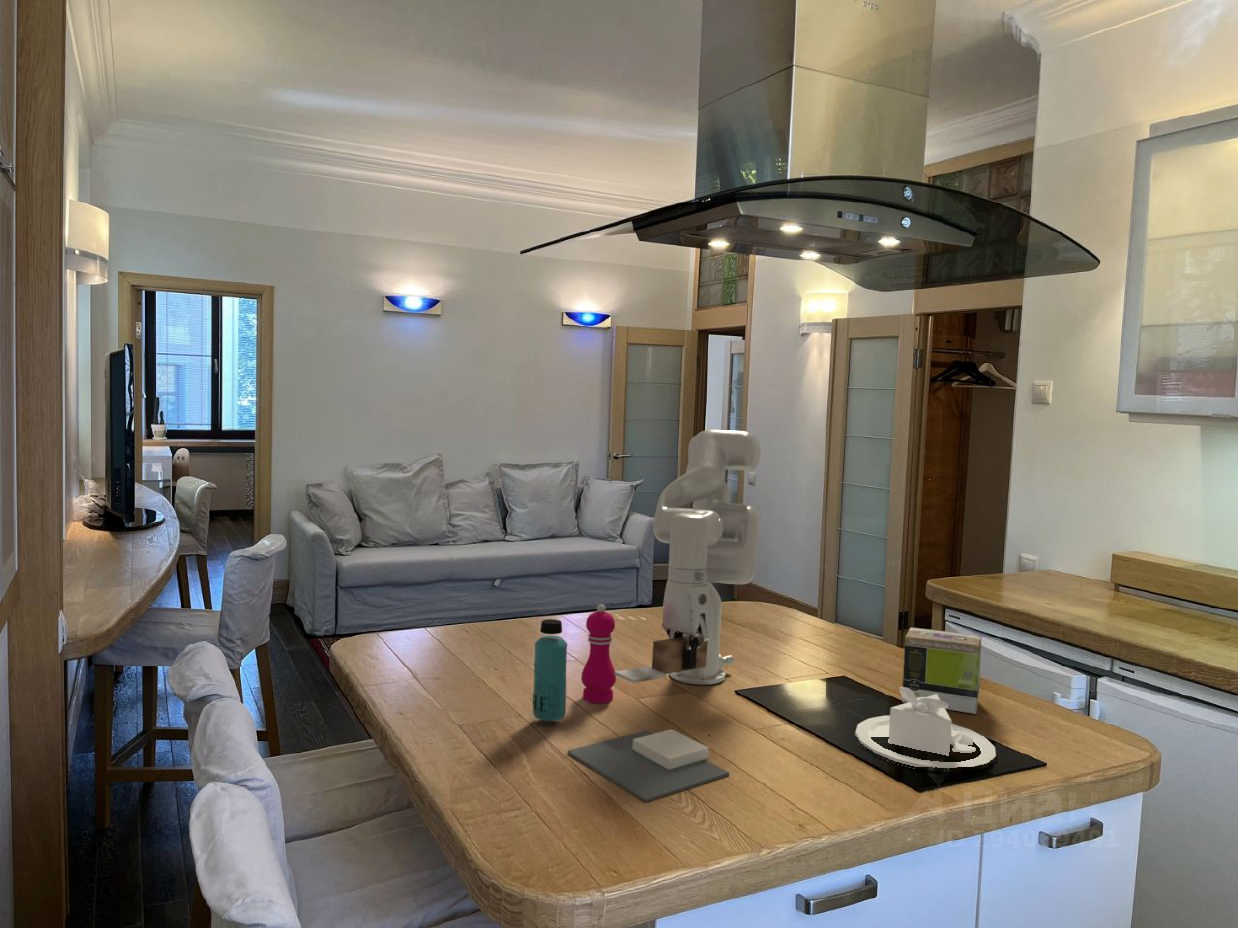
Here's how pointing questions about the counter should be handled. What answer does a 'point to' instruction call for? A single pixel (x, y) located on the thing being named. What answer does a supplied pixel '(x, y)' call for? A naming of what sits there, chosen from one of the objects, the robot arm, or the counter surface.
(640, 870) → the counter surface
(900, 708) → the dish
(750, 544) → the robot arm
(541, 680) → the beverage bottle
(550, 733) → the counter surface
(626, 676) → the wooden handled spatula
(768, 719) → the counter surface
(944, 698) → the tea box
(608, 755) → the tile mat
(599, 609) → the pepper mill
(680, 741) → the tile
